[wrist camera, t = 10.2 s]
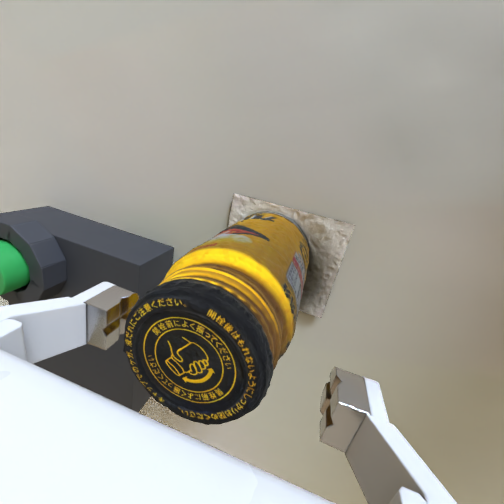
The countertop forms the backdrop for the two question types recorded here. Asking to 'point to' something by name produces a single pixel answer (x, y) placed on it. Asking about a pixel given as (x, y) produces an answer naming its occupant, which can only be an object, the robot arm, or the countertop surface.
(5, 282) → the small green piece
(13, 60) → the countertop surface
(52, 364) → the control panel
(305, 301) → the condiment
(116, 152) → the countertop surface
